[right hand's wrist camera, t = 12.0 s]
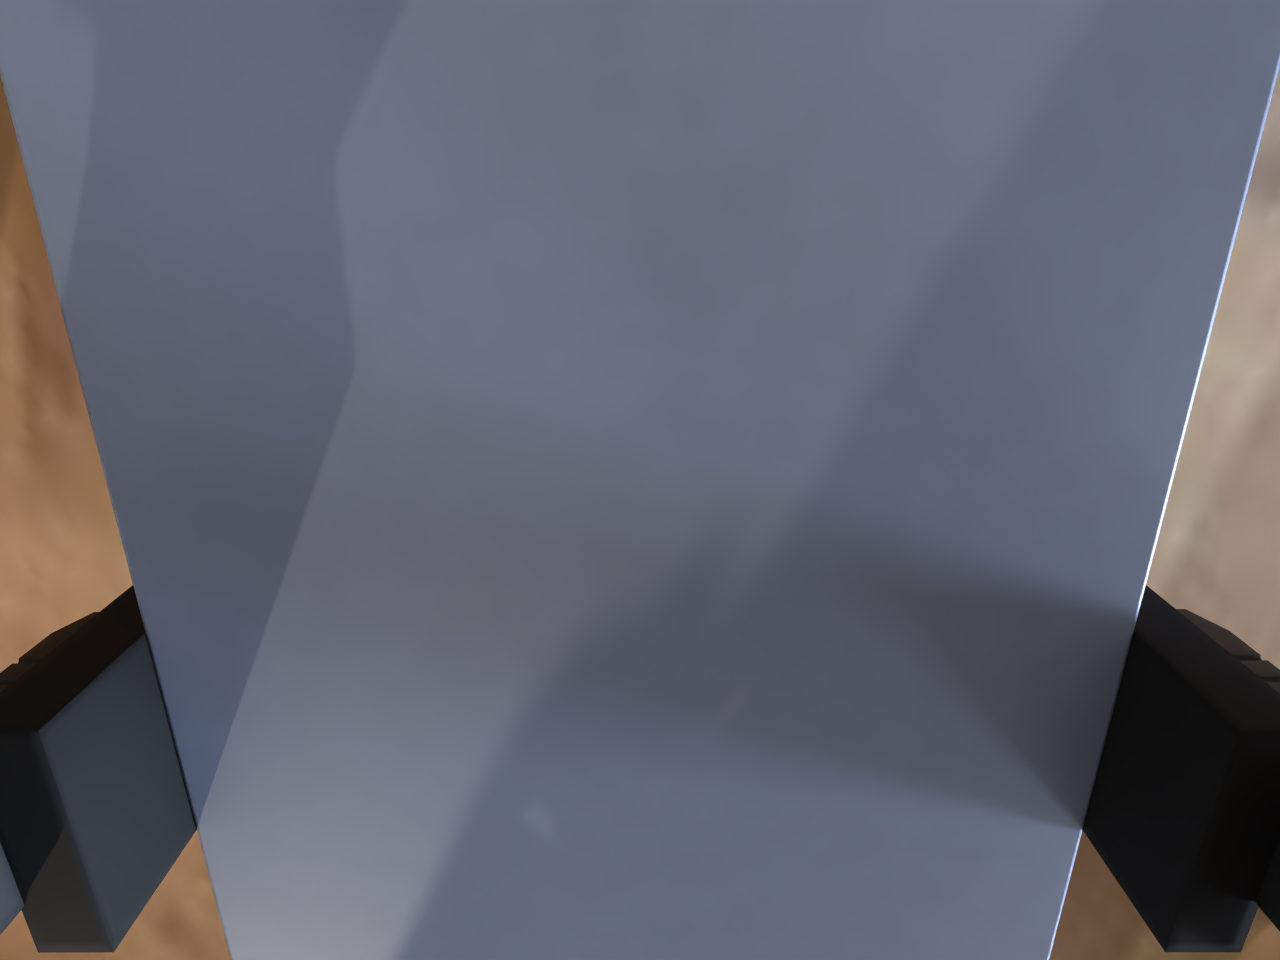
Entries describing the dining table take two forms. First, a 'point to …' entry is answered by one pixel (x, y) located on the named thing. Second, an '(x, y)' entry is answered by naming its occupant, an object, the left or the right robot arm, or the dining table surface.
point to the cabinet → (639, 443)
